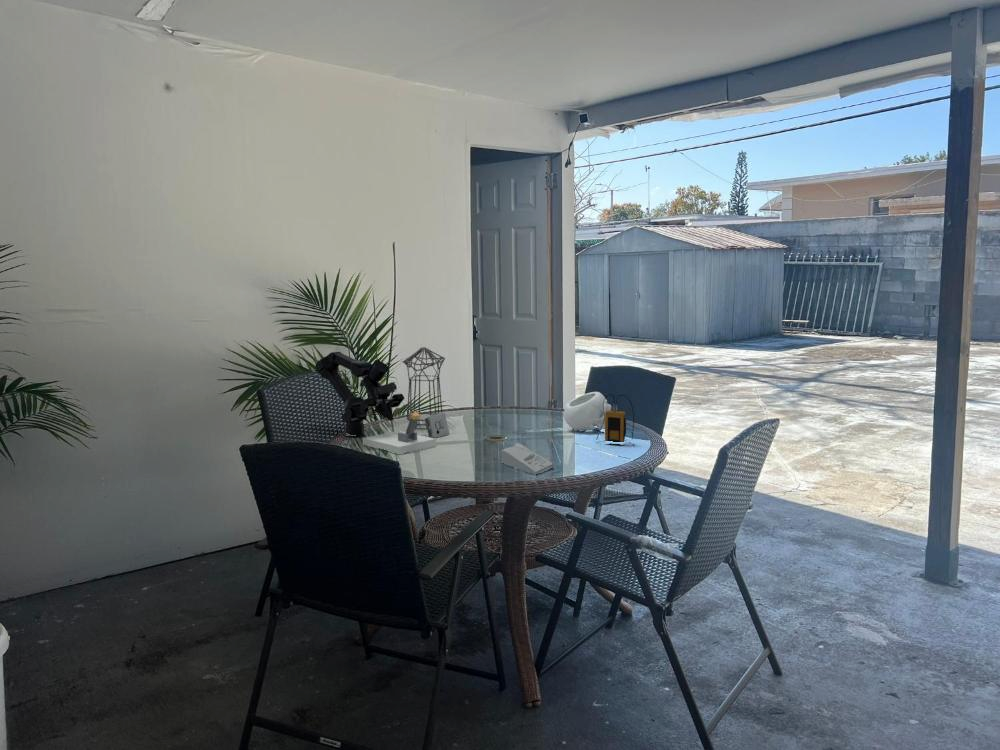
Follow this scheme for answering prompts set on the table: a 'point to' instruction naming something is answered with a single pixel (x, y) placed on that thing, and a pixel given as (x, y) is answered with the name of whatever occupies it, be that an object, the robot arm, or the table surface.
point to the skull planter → (586, 411)
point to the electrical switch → (437, 425)
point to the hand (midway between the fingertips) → (392, 420)
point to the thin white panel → (399, 442)
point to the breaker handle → (412, 424)
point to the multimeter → (615, 424)
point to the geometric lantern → (424, 380)
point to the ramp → (524, 459)
